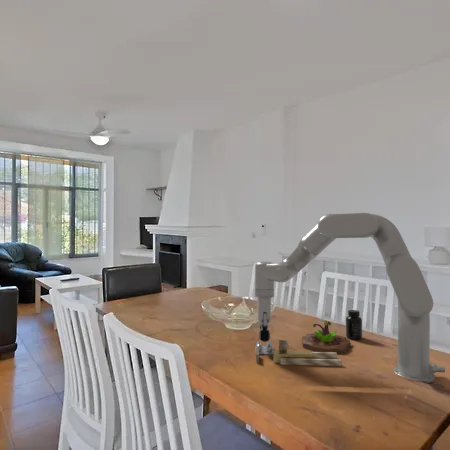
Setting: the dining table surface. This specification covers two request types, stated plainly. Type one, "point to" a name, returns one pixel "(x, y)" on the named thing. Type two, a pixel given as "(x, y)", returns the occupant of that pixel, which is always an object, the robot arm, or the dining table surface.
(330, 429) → the dining table surface
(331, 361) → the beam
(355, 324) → the supplement bottle
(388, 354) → the dining table surface
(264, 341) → the dark grey short cylinder
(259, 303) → the robot arm
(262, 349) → the v block
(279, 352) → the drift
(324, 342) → the plant
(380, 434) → the dining table surface
